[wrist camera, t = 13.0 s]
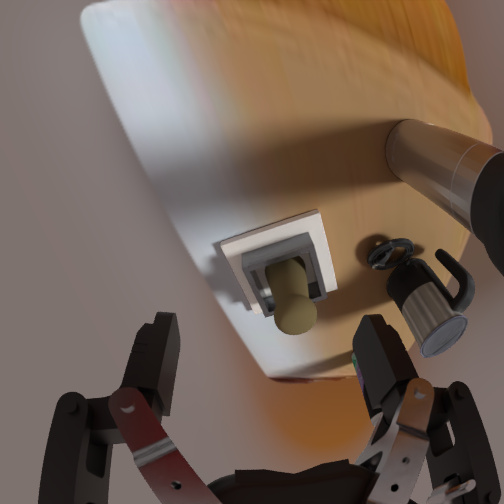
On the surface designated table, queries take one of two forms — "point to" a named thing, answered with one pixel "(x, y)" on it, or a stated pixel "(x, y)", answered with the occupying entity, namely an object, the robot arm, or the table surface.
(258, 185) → the table surface
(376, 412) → the spray can
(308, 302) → the cork
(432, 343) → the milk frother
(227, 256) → the socket base
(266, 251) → the socket collar
